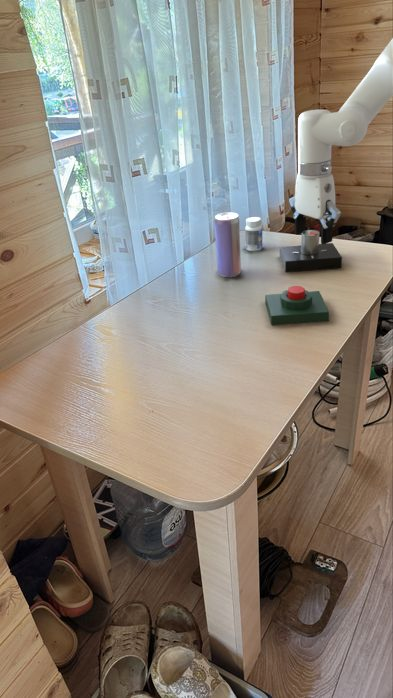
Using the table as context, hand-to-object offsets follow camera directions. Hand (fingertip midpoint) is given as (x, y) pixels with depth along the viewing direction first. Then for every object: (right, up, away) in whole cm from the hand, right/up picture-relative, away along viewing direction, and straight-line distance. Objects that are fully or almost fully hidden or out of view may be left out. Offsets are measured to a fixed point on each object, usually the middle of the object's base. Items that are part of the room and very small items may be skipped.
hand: (313, 237), depth 130 cm
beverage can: (-21, -9, +2) cm, 23 cm away
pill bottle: (-13, 0, +15) cm, 20 cm away
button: (-8, -17, -20) cm, 27 cm away
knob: (0, -3, +2) cm, 4 cm away
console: (0, -6, +4) cm, 7 cm away
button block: (-8, -20, -18) cm, 28 cm away
